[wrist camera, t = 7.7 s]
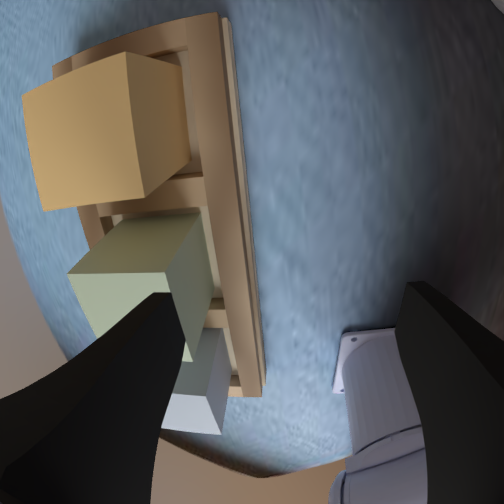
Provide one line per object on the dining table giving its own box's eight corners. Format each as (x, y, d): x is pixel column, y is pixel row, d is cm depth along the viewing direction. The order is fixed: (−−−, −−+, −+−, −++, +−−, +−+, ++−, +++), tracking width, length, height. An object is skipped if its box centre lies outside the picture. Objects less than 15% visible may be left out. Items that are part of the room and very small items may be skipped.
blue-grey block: (221, 323, 20) (205, 396, 14) (232, 369, 22) (221, 434, 17) (155, 322, 20) (125, 387, 15) (172, 366, 23) (153, 426, 17)
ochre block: (191, 160, 14) (144, 197, 9) (110, 171, 15) (43, 211, 10) (181, 66, 12) (125, 51, 7) (97, 88, 13) (21, 95, 7)
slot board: (231, 24, 12) (222, 10, 10) (266, 372, 24) (264, 397, 22) (75, 67, 13) (49, 67, 11) (158, 367, 25) (150, 389, 23)
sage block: (201, 212, 16) (164, 272, 11) (214, 287, 18) (193, 361, 13) (122, 219, 16) (66, 273, 11) (143, 288, 19) (105, 353, 14)
